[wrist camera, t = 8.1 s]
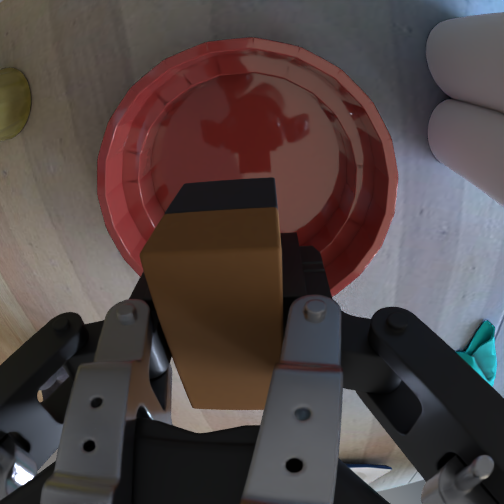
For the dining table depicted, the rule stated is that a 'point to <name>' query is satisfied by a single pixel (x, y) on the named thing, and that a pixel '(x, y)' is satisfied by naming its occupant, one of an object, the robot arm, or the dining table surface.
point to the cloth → (482, 352)
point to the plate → (369, 471)
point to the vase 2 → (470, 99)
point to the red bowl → (253, 148)
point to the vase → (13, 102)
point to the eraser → (220, 289)
